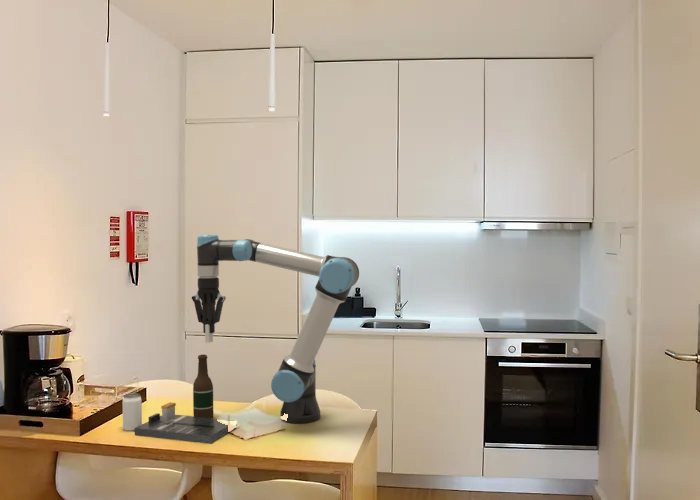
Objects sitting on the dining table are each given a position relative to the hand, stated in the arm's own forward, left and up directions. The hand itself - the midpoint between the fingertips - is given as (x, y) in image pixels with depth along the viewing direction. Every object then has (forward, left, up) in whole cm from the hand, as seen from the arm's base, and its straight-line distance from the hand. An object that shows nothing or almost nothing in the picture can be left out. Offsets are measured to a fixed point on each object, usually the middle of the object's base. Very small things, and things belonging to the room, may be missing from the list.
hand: (209, 341), depth 227 cm
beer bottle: (+7, -6, -31) cm, 32 cm away
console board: (+4, +9, -30) cm, 32 cm away
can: (+25, +12, -31) cm, 41 cm away
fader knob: (+11, +9, -27) cm, 31 cm away
